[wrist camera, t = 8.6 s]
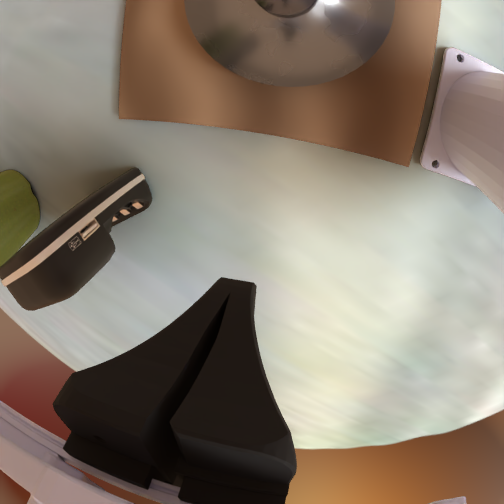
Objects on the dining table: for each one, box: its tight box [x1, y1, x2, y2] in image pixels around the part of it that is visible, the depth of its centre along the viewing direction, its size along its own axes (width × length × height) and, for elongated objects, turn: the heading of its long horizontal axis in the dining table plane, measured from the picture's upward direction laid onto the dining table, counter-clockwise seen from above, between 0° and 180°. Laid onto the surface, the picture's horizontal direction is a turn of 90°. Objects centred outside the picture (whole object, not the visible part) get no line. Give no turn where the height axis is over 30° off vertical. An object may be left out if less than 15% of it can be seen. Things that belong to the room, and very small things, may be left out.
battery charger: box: [0, 168, 152, 311], centre depth 19 cm, size 7×4×11 cm, turn 116°
